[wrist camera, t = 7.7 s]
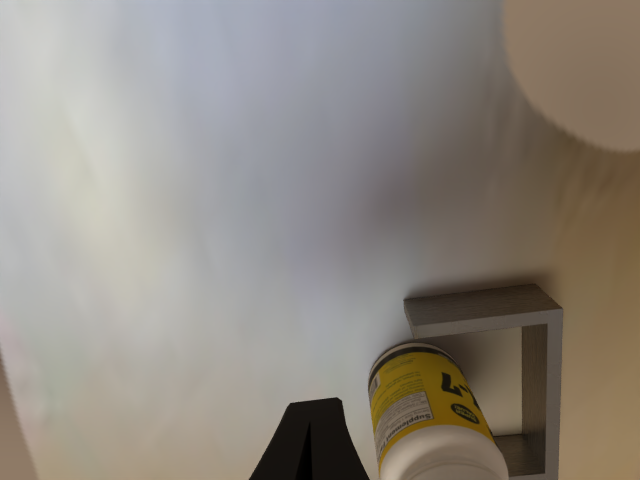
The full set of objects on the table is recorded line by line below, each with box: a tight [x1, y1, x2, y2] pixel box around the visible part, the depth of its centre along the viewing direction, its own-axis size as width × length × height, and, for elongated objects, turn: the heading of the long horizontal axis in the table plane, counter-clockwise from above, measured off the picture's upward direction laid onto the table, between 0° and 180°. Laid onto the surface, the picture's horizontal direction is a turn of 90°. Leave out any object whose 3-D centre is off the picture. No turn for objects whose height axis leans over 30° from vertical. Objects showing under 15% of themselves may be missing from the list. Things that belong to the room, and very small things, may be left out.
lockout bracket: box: [403, 284, 563, 480], centre depth 20 cm, size 6×9×2 cm, turn 8°
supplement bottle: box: [368, 343, 509, 480], centre depth 18 cm, size 5×5×8 cm
